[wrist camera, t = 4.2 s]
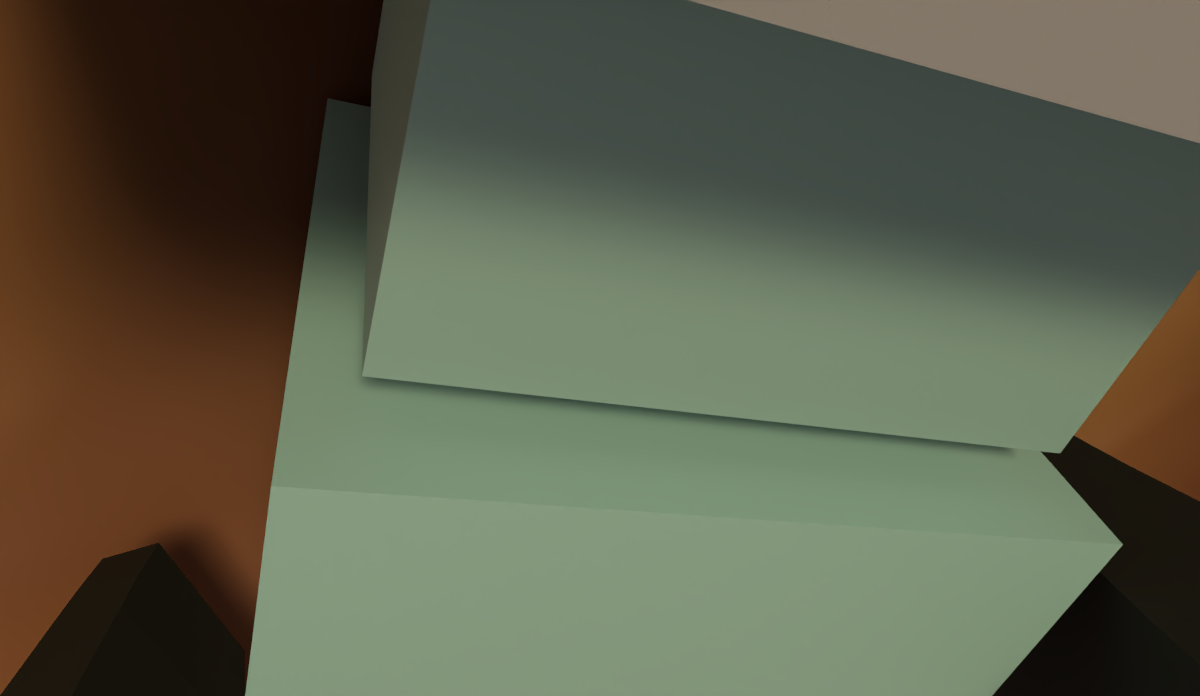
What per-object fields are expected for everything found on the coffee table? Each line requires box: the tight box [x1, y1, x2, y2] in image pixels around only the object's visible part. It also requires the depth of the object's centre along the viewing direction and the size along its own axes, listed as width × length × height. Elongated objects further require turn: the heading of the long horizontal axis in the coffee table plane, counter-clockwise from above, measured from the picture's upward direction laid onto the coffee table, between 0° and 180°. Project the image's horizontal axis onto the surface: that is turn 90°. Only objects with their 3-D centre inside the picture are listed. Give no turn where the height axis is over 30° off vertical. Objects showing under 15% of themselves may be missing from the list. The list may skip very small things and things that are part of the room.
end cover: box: [245, 0, 1200, 696], centre depth 7 cm, size 5×10×5 cm, turn 163°
